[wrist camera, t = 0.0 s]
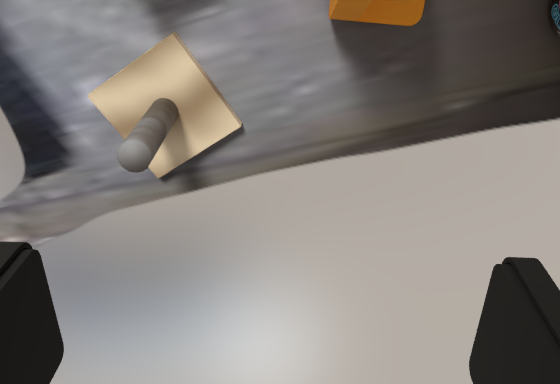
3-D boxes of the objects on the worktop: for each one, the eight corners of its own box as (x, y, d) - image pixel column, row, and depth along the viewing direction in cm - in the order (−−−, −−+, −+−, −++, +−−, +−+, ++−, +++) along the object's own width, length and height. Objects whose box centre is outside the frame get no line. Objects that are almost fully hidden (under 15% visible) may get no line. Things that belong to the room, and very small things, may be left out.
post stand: (91, 92, 48) (37, 138, 38) (174, 31, 45) (140, 64, 35) (160, 173, 52) (128, 235, 42) (242, 122, 49) (227, 175, 39)
